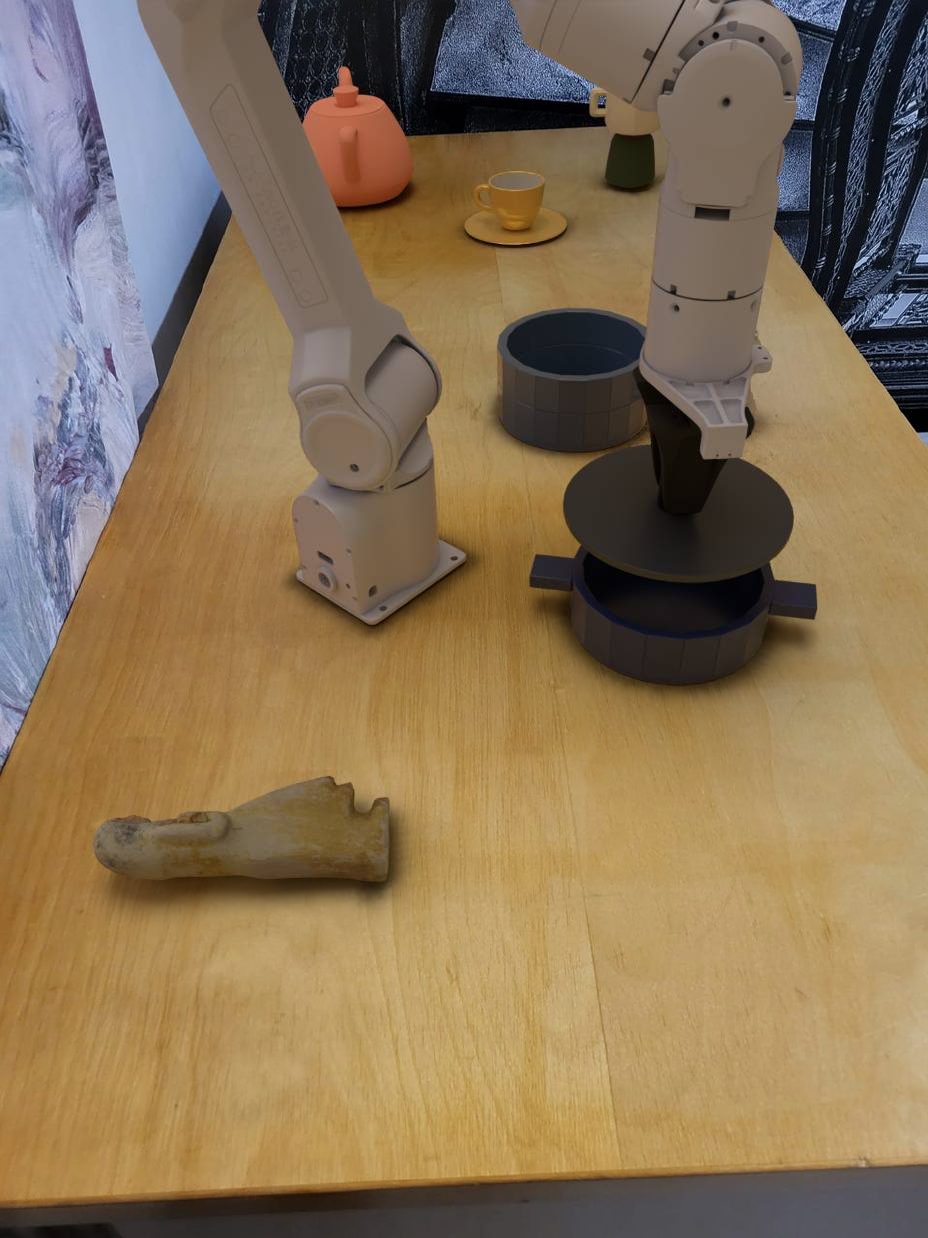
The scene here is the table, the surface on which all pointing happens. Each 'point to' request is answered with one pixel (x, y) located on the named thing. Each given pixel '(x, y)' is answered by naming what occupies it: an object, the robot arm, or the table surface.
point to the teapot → (358, 146)
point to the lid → (676, 520)
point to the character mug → (627, 140)
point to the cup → (514, 211)
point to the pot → (571, 379)
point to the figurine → (257, 838)
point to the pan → (670, 617)
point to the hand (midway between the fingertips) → (677, 495)
